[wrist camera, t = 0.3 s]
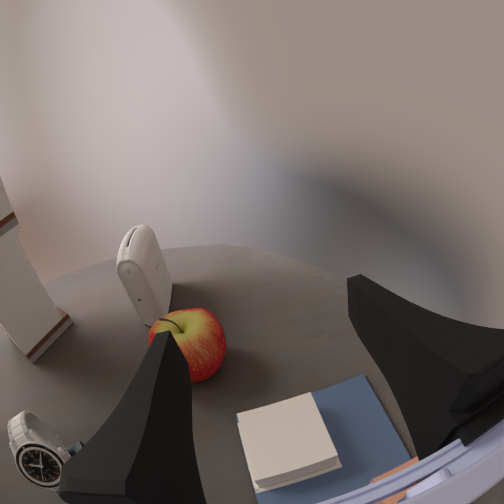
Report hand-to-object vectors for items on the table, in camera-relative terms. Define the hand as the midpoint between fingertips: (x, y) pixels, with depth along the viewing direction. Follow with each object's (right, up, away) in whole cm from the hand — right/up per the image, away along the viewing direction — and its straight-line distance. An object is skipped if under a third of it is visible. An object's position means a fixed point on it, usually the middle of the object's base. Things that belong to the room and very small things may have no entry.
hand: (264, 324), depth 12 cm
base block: (+3, -15, +13) cm, 20 cm away
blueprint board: (+7, -17, +10) cm, 21 cm away
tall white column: (-38, -11, +32) cm, 51 cm away
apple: (-7, -11, +23) cm, 26 cm away
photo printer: (-15, -5, +34) cm, 38 cm away
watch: (-18, -21, +11) cm, 30 cm away
